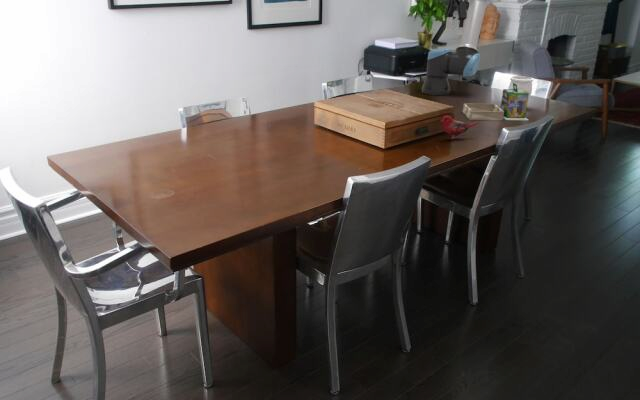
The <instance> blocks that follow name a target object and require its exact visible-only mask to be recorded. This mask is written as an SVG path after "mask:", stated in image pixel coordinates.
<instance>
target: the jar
mask: <svg viewBox="0 0 640 400" xmlns="http://www.w3.org/2000/svg"><path fill="white" fill-rule="evenodd" d="M509 78H510V82H509V85H508V89H513V83H515V84H516V85H517V89H522V90H524V91H526V92H528V93H529V95H528V102H527V104H528V103H529V101H530V98H531V95H532V92H533V91H532V90H533V82H534V78H533V77H529V76H525V75H512V76H510V77H509ZM515 89H516V87H515Z"/></svg>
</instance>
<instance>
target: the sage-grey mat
mask: <svg viewBox="0 0 640 400" xmlns="http://www.w3.org/2000/svg"><path fill="white" fill-rule="evenodd" d="M503 120H505V121H520V122H521V121H522V122H523V121H526V122H528V121H529V119H528V118H527V117H526V116H525V117H513V118H506V117H505V116H503Z"/></svg>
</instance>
